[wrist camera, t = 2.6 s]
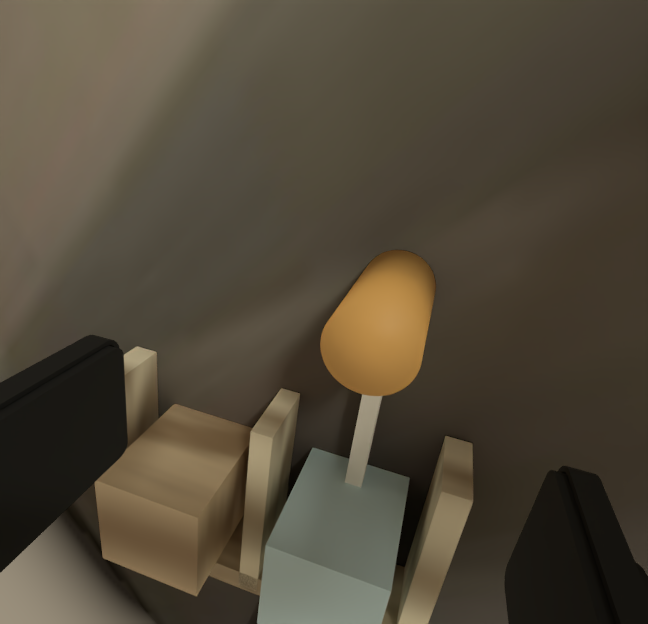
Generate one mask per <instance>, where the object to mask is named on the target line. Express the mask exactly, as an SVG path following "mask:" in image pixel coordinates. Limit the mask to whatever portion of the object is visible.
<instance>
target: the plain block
mask: <svg viewBox="0 0 648 624" xmlns="http://www.w3.org/2000/svg"><path fill="white" fill-rule="evenodd" d="M252 429H253V428H251V427H248V426H244V425H241V424H238V423H235V422H232V421H228V420H225V419H222V418H219V417H216V416H212V415H209V414H206V413H203V412H200V411H197V410H193V409H190V408H187V407H184V406H181V405H177V404H174V405H173V406H172V407H170V408H169V409H168V410H167V411H166V412H165V413H164V414H163V415H162V416H161V417H160V418H159V419H158V420H157V421H156V422H155V423H154V424H153V425H151V426H150V427H149V428H148V429H147V430H146V431H145V432H144V433H143V434H142V435H141V436H140V437H139V438H138V439H137V440H136V441H135V442H134V443H132V444H131V445H130V446H129V447H128V448H127V449H126V450H125V452H124V454H123V455H122V456H121V457H120V458H119V459H118V460H117V461H116V462H115V463H114V464H113V465H112V466H111V467H110V468H109V469H108V470H107V471H106V472H105V473H104V474H103V475H102V476H101V477H100V478H99V479H98V480H96V481H95V482H94V483H95V492H96V501H97V510H98V519H99V528H100V537H101V546H102V555H103V558H104V559H106V560H109V561H111V562H114V563H116V564H119V565H121V566H123V567H126V568H128V569H131V570H133V571H136V572H138V573H140V574H143V575H145V576H148V577H150V578H153V579H155V580H158V581H160V582H162V583H165V584H167V585H170V586H172V587H175V588H177V589H180V590H182V591H184V592H187V593H189V594H192V595H194V596H197V595H198V593H199V591H200V590H201V588H202V586H203V584H204V583H205V581H206V579H207V577H208V576H209V574H210V572H211V571H212V569H213V567H214V565H215V564H216V562H217V560H218V558H219V557H220V555H221V553H222V551H223V550H224V548H225V546H226V545H227V543H228V541H229V539H230V538H231V536H232V534H233V532H234V531H235V529H236V527H237V525H238V524H239V522H240V520H241V518H242V517H243V515H244V509H245V496H246V483H247V471H248V458H249V446H250V433H251V430H252Z"/></svg>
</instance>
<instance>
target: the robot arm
mask: <svg viewBox="0 0 648 624" xmlns="http://www.w3.org/2000/svg"><path fill="white" fill-rule="evenodd" d="M127 444H128V434H127V413H126V392H125V371H124V355H123V351H122V350H121V349H119V345H118V344H117V342H115V341H114V340H110V339H106V338H103V337H99V336H96V335H89V336H86V337H84V338H82V339H80V340H78V341H77V342H75V343H73V344H71V345H69V346H67V347H66V348H64V349H62V350H60V351H58V352H56V353H54V354H53V355H51V356H49V357H47V358H45V359H43V360H42V361H40V362H38V363H36V364H34V365H32V366H30V367H29V368H27V369H25V370H23V371H21V372H19V373H18V374H16V375H14V376H12V377H10V378H8V379H6V380H5V381H3V382H1V383H0V572H2V571H3V569H5V568H6V567H7V566H8V565H9V564H10V563H11V562H12V561H13V560H14V559H15V558H16V557H17V556H18V555H19V554H20V553H21V552H22V551H23V550H24V549H26V548H27V546H28V545H30V544H31V543H32V542H33V541H34V540H35V539H36V538H37V537H38V536H39V535H40V534H41V533H42V532H43V531H44V530H45V529H46V528H47V527H48V526H50V525H51V523H53V522H54V521H55V520H56V519H57V518H58V517H59V516H60V515H61V514H62V513H63V512H64V511H65V510H66V509H67V508H68V507H69V506H70V505H71V504H72V503H74V502H75V501H76V500H77V499H78V498H79V497H80V496H81V495H82V494H83V493H84V492H85V491H86V490H87V489H88V488H89V487H90V486H91V485H92V484H93V483H94V482H95V481H96V480H98V479H99V478H100V477H101V476H102V475H103V474H104V473H105V472H106V471H107V470H108V469H109V468H110V467H111V466H112V465H113V464H114V463H115V462H116V461H117V460H118V459H119V458H120V457H121V456H122V455H123V454H124V452H125V450H126V448H127ZM505 593H506V602H507V612H508V621H509V624H648V576H647V575H646V573H645V571H644V569H643V568H642V567H641V566H640V565H638V564H637V563H635V561H634V559H633V556H632V554H631V551H630V549H629V547H628V544H627V542H626V539H625V537H624V535H623V532H622V530H621V528H620V525H619V523H618V520H617V518H616V516H615V513H614V511H613V508H612V506H611V504H610V501H609V499H608V497H607V494H606V492H605V489H604V487H603V485H602V482H601V480H600V478H599V477H598V476H597V475H596V474H593V473H589V472H586V471H582V470H578V469H575V468H571V467H568V466H562V467H561V468H560V469H559V471H558V472H557V471H553V470H550V471H549V472H548V474H547V475H546V478H545V480H544V482H543V484H542V487H541V489H540V491H539V494H538V496H537V498H536V500H535V503H534V505H533V507H532V510H531V512H530V514H529V516H528V519H527V521H526V523H525V526H524V528H523V530H522V532H521V535H520V537H519V539H518V542H517V544H516V546H515V548H514V551H513V553H512V555H511V557H510V560H509V562H508V564H507V567H506V572H505Z"/></svg>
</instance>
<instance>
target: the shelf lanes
mask: <svg viewBox="0 0 648 624" xmlns="http://www.w3.org/2000/svg"><path fill="white" fill-rule="evenodd" d="M124 371H125V392H126V413H127V434H128V444H127V448H128V447H129V446H130V445H131V444H132V443H134V442H135V441H136V440H137V439H138V438H139V437H140V436H141V435H142V434H143V433H144V432H145V431H146V430H147V429H148V428H149V427H150V426H151V425H153V424H154V423H155V422H156V421H157V420H158V419H159V414H158V379H157V352H155V351H151V350H148V349H144V348H141V347H138V346H137V347H135V348H134V349H132V350H131V351H129V352H128V353H126V354H125V355H124ZM299 401H300V393H297V392H293V391H290V390H286V389H283V388H281V389H280V391H279V392H278V393H277V395H276V396H275V398H274V399H273V400H272V402H271V403H270V405H269V406H268V407H267V409H266V410H265V412H264V413H263V415H262V416H261V417H260V419H259V420H258V422H257V423H256V424H255V426H254V427H253V429H252V430H251V433H250V446H249V458H248V471H247V483H246V496H245V509H244V515H243V517H242V518H241V520H240V522H239V524H238V525H237V527H236V529H235V531H234V532H233V534H232V536H231V538H230V539H229V541H228V543H227V545H226V546H225V548H224V550H223V551H222V553H221V555H220V557H219V558H218V560H217V562H216V564H215V565H214V567H213V569H212V571H211V572H210V574H209V576H211V577H213V578H216V579H218V580H221V581H224V582H226V583H229V584H231V585H234V586H236V587H239V588H241V589H244V590H246V591H249V592H251V593H254V594H256V595H259V596H260V591H261V582H262V573H263V564H264V555H265V546H266V543H267V541H268V539H269V537H270V535H271V533H272V531H273V529H274V527H275V524H276V522H277V520H278V518H279V516H280V514H281V512H282V510H283V508H284V506H285V504H286V499H287V492H288V484H289V477H290V469H291V461H292V454H293V446H294V439H295V431H296V424H297V416H298V408H299ZM127 448H126V449H127ZM472 504H473V443H469V442H466V441H462V440H459V439H455V438H452V437H449V436H445V439H444V442H443V445H442V449H441V452H440V455H439V458H438V461H437V465H436V468H435V471H434V474H433V478H432V481H431V484H430V487H429V490H428V494H427V497H426V500H425V503H424V507H423V510H422V513H421V516H420V520H419V523H418V526H417V529H416V532H415V536H414V539H413V542H412V545H411V549H410V552H409V555H408V558H407V561H406V565H405V567H402V566H400V565H397V564H396V565H395V571H394V577H393V583H392V589H391V594H390V597H389V600H388V604H387V607H386V610H385V614H384V617H383V620H382V624H428V622H429V620H430V617H431V614H432V611H433V609H434V606H435V603H436V601H437V598H438V595H439V593H440V590H441V587H442V585H443V582H444V579H445V577H446V574H447V571H448V568H449V566H450V563H451V560H452V558H453V555H454V552H455V550H456V547H457V544H458V542H459V539H460V536H461V534H462V531H463V528H464V525H465V523H466V520H467V517H468V515H469V512H470V509H471V507H472Z"/></svg>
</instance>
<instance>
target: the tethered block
mask: <svg viewBox="0 0 648 624" xmlns="http://www.w3.org/2000/svg"><path fill="white" fill-rule="evenodd" d="M435 290H436V282H435V277H434V274H433V271H432V270H431V268H430V266H429V265H428V264H427V263H426V262H425V261H424V260H423V259H422V258H421V257H419V256H418V255H416V254H414V253H412V252H408V251H404V250H391V251H387V252H384V253H382V254H380V255H378V256H377V257H375V258H374V259H373V260H372V261H371V262H370V263H369V264H368V266H367V267H366V268H365V270H364V271H363V273H362V274H361V275H360V277H359V278H358V280H357V281H356V282H355V284H354V285H353V287H352V288H351V289H350V291H349V292H348V294H347V295H346V297H345V298H344V299H343V301H342V302H341V304H340V305H339V306H338V308H337V309H336V311H335V312H334V313H333V315H332V316H331V318H330V319H329V320H328V322H327V323H326V325H325V327H324V329H323V332H322V335H321V342H320V347H321V354H322V358H323V361H324V363H325V365H326V367H327V369H328V370H329V372H330V373H331V375H332V376H333V377H334V378H335V379H336V380H337V381H338V382H339V383H341V384H342V385H343V386H345V387H346V388H348V389H350V390H352V391H354V392H357V393H360V394H362V398H361V403H360V408H359V413H358V418H357V423H356V428H355V433H354V438H353V443H352V448H351V453H350V458H349V459H348V458H345V457H342V456H339V455H336V454H332V453H329V452H326V451H323V450H320V449H317V448H312V450H311V452H310V454H309V456H308V458H307V460H306V462H305V464H304V466H303V468H302V470H301V473H300V475H299V477H298V479H297V481H296V483H295V485H294V487H293V489H292V491H291V493H290V495H289V497H288V500H287V502H286V504H285V506H284V508H283V510H282V512H281V514H280V516H279V518H278V520H277V522H276V524H275V527H274V529H273V531H272V533H271V535H270V537H269V539H268V541H267V543H266V546H265V555H264V564H263V573H262V582H261V591H260V600H259V609H258V618H257V623H258V624H382V620H383V617H384V614H385V610H386V607H387V604H388V600H389V597H390V594H391V589H392V583H393V577H394V571H395V565H396V559H397V553H398V547H399V541H400V535H401V528H402V522H403V516H404V510H405V504H406V498H407V492H408V486H409V480H410V478H409V477H406V476H403V475H399V474H396V473H393V472H390V471H387V470H383V469H380V468H377V467H374V466H371V465H368V464H367V463H368V458H369V454H370V450H371V445H372V441H373V436H374V432H375V427H376V423H377V418H378V414H379V410H380V405H381V401H382V396H385V395H390V394H393V393H396V392H398V391H400V390H402V389H404V388H405V387H407V386H408V385H409V384H410V383H411V382H412V381H413V380H414V378H415V377H416V376H417V374H418V372H419V370H420V367H421V363H422V358H423V353H424V347H425V342H426V337H427V332H428V327H429V322H430V316H431V311H432V306H433V301H434V296H435Z"/></svg>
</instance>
